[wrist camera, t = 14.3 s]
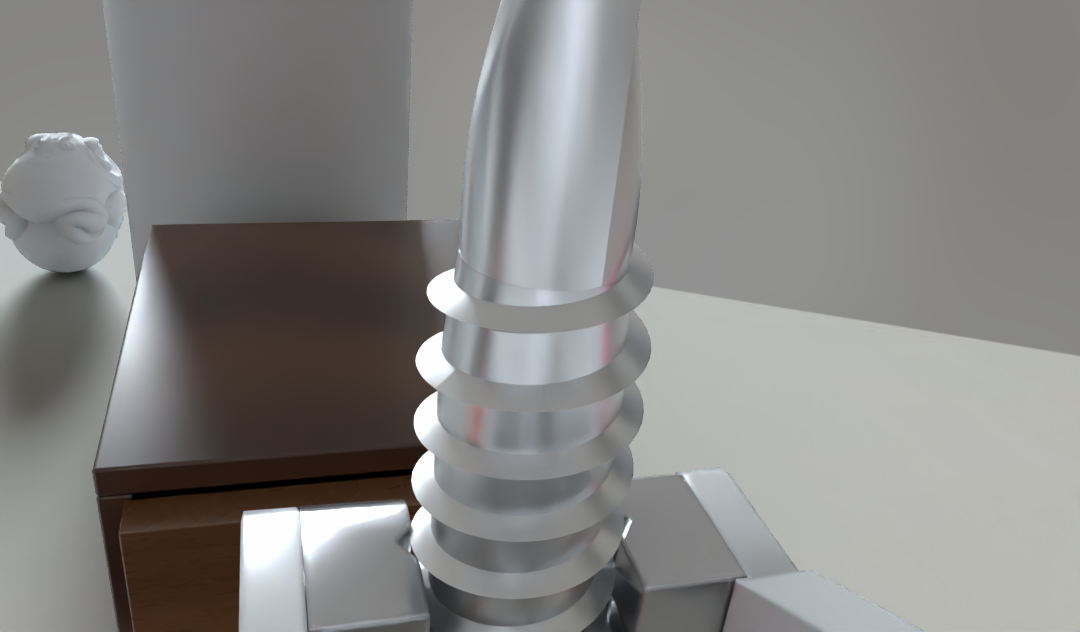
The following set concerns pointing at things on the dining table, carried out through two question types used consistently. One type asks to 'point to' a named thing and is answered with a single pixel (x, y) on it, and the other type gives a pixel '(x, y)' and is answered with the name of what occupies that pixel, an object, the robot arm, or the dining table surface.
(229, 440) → the cabinet
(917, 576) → the dining table surface
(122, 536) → the drawer
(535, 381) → the screw
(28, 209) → the frog figurine
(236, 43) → the cylinder vase
